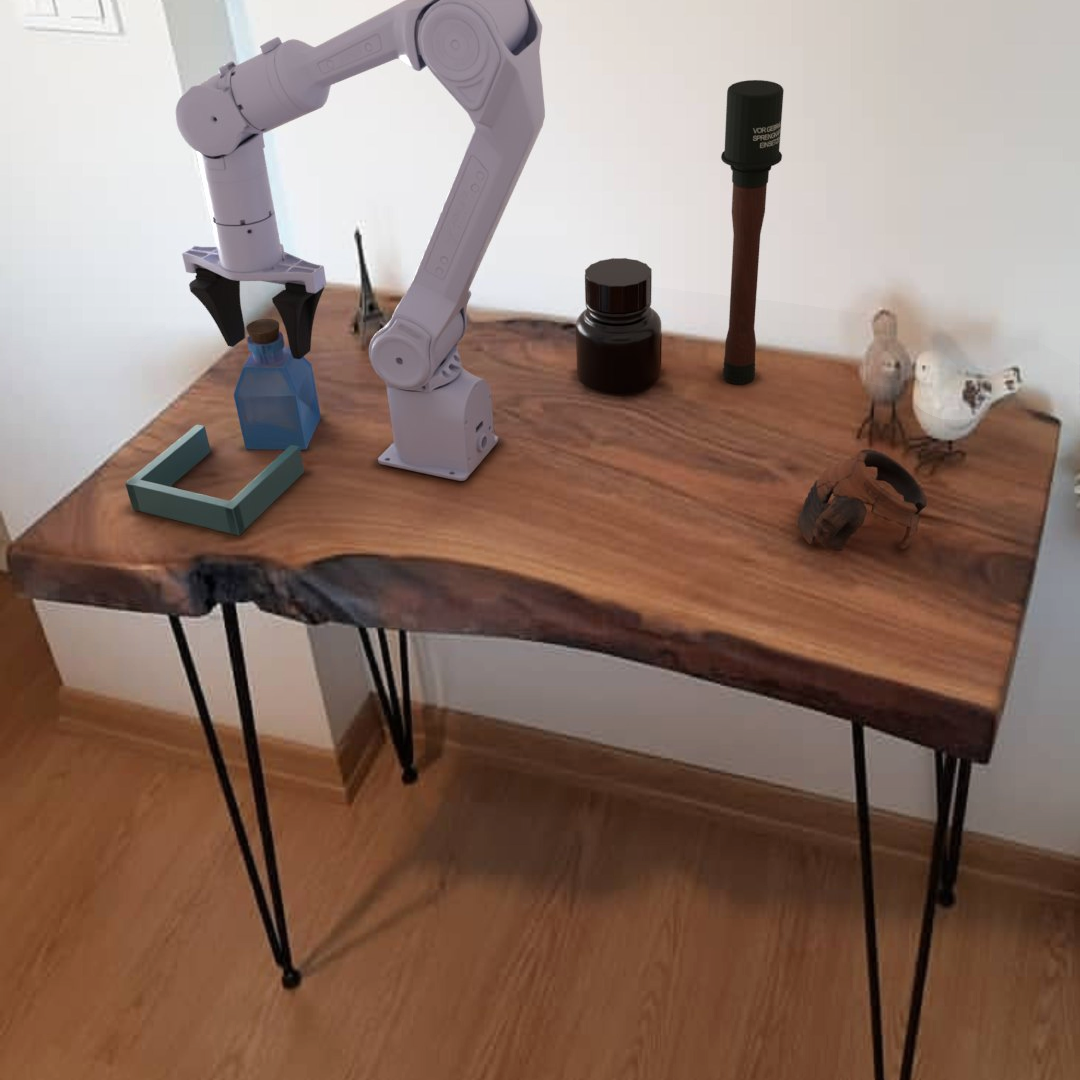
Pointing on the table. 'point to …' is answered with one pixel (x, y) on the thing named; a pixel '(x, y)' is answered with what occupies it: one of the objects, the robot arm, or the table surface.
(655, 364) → the ink bottle
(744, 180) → the grenade
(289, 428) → the perfume bottle
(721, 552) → the table surface
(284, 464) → the bay
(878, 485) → the brown curved piece
